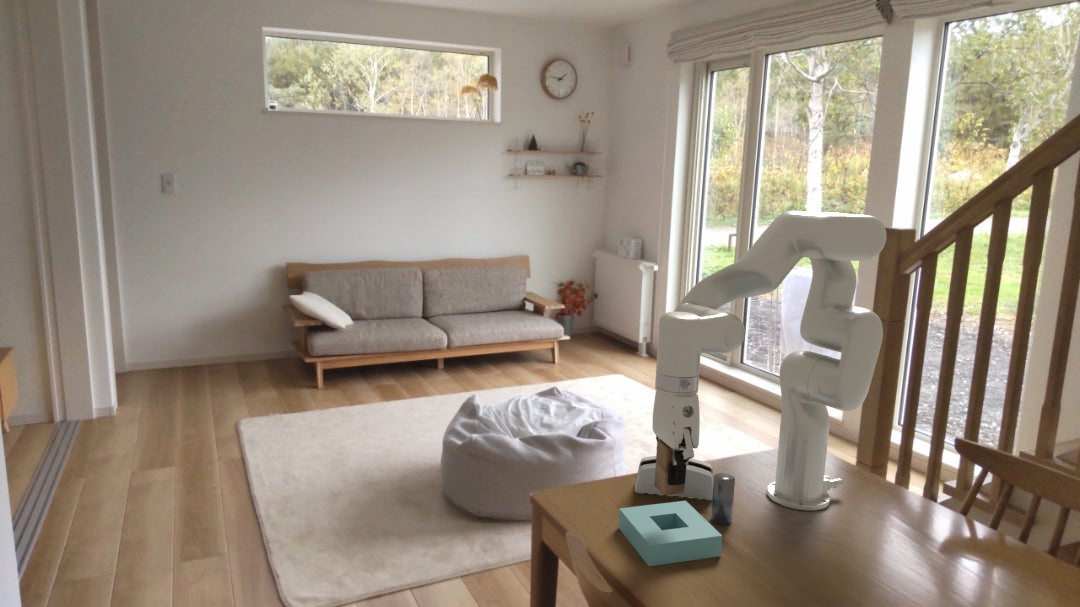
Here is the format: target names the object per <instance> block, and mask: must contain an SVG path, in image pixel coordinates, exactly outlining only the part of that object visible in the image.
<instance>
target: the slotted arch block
mask: <svg viewBox="0 0 1080 607" xmlns="http://www.w3.org/2000/svg"><path fill="white" fill-rule="evenodd" d="M655 469H656V455H653V456H652V455H651V456H645V457H643V458H641V459H640V461H639V464H638V470H637V474H636V477H635V478H636V479H635V484H634V485H635V486H634V492H637V493H636V494H644V493H648V494H647V495H653V494H658V495H657V496H663V494H662V493H661V492H660V491H659V490H658V489H657V488H656V487H655V486H654V485H655ZM713 470H714V469H713V467H712V465H711V464H710V463H708V462H705V461H704V460H699V459H696V458H694V457H693V458H691V459H689V460H688V464H687V465H686V479H685V488H684V493H681V494H671V495H667V496H666V497H673V496H679V497H678V498H683V497H692V498H691V499H693V498H698V499H697V500H702V499H706V500H705V501H712V497H713V482H714V471H713Z"/></svg>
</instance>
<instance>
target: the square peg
mask: <svg viewBox="0 0 1080 607" xmlns="http://www.w3.org/2000/svg"><path fill="white" fill-rule="evenodd" d="M679 446H683V444H679ZM655 453H656V455H655V456H656V469H655V485H654V486H655V487H656V488H657V489H658V490H659V491H660V492H661V493H662V494H663V495H671V494H681V493H684V488H685V484H681V485H671V486H670V485H669V484H668V471H669V463H671V447H670V446H668V445H667V444H666V443H665V442H663V441H662V440H661V439H657V440H656V452H655ZM681 453H682V451H677V456H678V455H679V454H681ZM663 495H662V496H663Z"/></svg>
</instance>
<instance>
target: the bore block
mask: <svg viewBox="0 0 1080 607" xmlns="http://www.w3.org/2000/svg"><path fill="white" fill-rule="evenodd" d="M617 526H618V529H619V530H620V532H621V533H622V534H623V536H624V537H625V539H627V540H628V542H629V543H630V545H631V546H632V547H633V548H634V550H636V552H637V553H638V555H639V556H640V558H642V560H643V561H644V562H645V564H646V565H647V566H648V567H654V566H655V567H656V566H660V565H661V566H662V565H669V564H675V563H683V562H690V561H697V560H703V559H711V558H718V557H721V556H722V543H723V534H721V533H720V532H719V531H718V530H717V529H716V528H715V526H713V525H712V524H711V523H710V522H708V520H707V519H706V518H704V516H702V514H700V513H699V511H697V509H695V507H693V506H692V505H691V504H690V503H689V502H688V501H687V500H679V501H671V502H662V503H655V504H645V505H636V506H630V507H629V506H628V507H621V508H619V509H618V525H617Z"/></svg>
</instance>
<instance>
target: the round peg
mask: <svg viewBox="0 0 1080 607" xmlns="http://www.w3.org/2000/svg"><path fill="white" fill-rule="evenodd" d="M713 480H714V482H713V497H712V500H711V515H710V520H712V523H714V524H716V525H717V526H718V525H719V526H728V525H731V524H732V523H733V521H732V520H733V513H734V512H733V509H734V500H735V497H734V496H735V486H736V477H735V476H734V475H731V474H729V473H724V472H722V473H716V474H713Z"/></svg>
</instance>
